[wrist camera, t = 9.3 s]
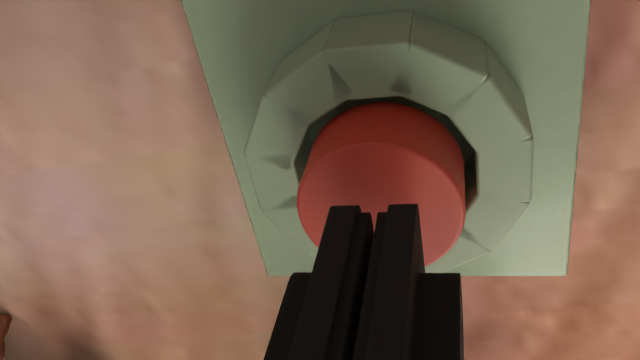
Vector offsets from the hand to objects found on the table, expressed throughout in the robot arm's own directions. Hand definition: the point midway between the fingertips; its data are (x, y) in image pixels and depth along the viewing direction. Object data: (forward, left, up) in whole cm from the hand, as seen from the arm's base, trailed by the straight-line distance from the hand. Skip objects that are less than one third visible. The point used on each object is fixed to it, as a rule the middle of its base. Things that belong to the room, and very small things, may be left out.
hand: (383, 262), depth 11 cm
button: (0, 0, -3) cm, 3 cm away
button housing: (0, 0, -6) cm, 6 cm away
